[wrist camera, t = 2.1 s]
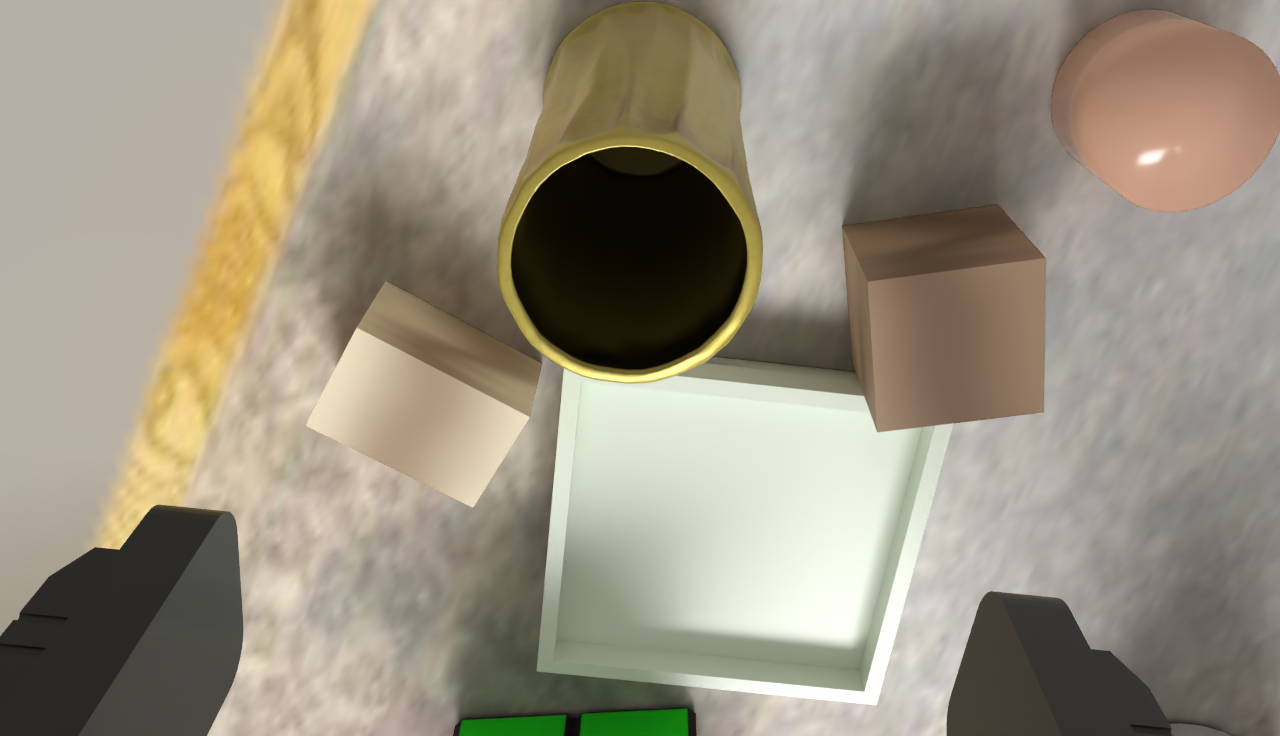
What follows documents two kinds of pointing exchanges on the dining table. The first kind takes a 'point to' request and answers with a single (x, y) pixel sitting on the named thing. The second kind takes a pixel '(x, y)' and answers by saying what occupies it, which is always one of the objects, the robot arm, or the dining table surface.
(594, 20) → the vase
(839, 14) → the dining table surface
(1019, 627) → the robot arm
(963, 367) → the walnut block
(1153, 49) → the peach domed puck
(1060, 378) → the dining table surface
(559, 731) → the puzzle cube
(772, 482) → the tray
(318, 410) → the maple block
